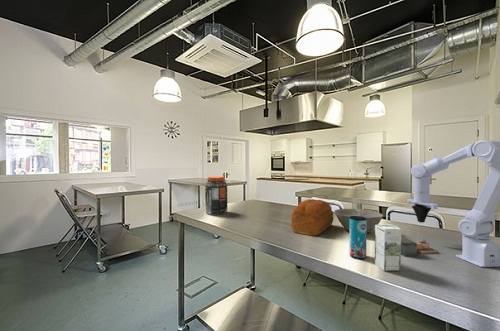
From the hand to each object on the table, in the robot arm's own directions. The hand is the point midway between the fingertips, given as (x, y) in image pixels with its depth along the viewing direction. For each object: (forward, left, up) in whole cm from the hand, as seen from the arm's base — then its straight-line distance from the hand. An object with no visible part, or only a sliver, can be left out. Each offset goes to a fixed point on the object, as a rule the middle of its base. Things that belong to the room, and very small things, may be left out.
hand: (421, 222), depth 104 cm
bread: (+26, +40, -10) cm, 49 cm away
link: (-8, +11, -8) cm, 16 cm away
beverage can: (-12, +36, -10) cm, 39 cm away
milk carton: (-22, +31, -10) cm, 39 cm away
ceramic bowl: (+19, +19, -10) cm, 29 cm away
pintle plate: (-8, +6, -9) cm, 14 cm away
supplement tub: (+70, +96, -10) cm, 119 cm away
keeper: (-10, +16, -9) cm, 21 cm away
